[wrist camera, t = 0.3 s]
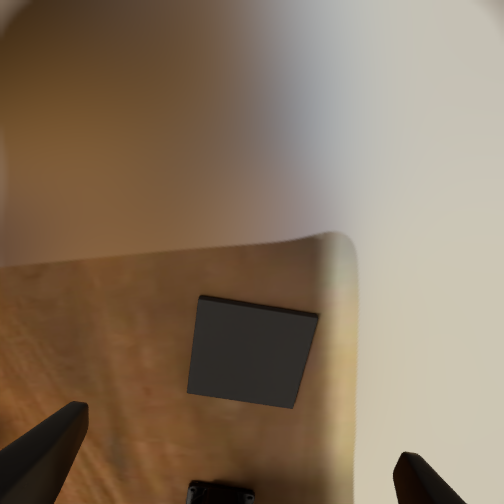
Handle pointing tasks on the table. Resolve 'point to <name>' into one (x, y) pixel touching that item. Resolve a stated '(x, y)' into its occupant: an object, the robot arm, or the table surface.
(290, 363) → the mat
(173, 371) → the table surface
